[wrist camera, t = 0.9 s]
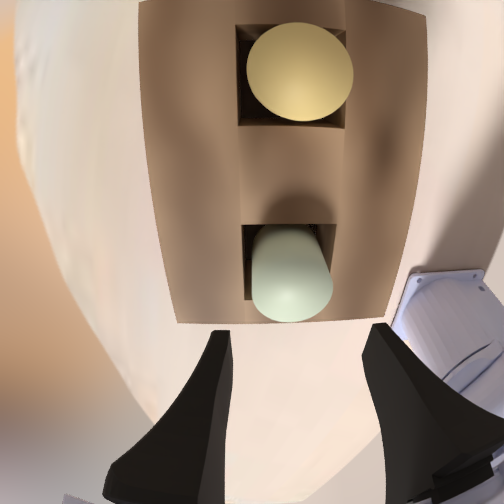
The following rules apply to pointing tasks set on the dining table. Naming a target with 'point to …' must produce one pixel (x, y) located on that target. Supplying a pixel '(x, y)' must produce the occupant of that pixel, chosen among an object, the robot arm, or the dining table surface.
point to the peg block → (279, 152)
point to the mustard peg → (300, 71)
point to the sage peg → (289, 273)
